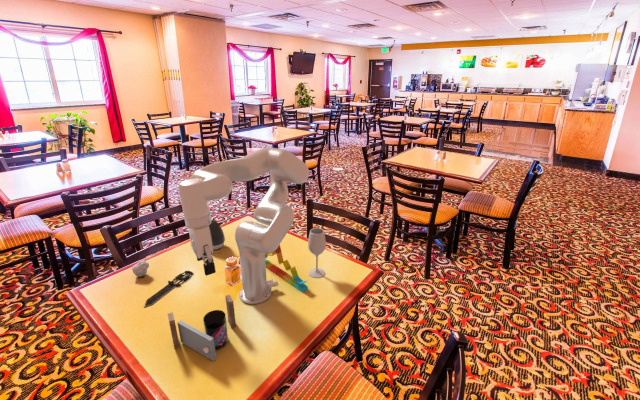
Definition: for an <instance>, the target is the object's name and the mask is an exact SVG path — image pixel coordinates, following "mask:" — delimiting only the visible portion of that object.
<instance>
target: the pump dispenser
mask: <svg viewBox="0 0 640 400" xmlns="http://www.w3.org/2000/svg"><path fill="white" fill-rule="evenodd" d="M223 224H224V222H223V221H221V222H218V220H215V219H211V224H210V225H209V229H210V234H211V239H212V245H213V251H215V250H219V249H220V248H222V247H223V246H224V244H225V241H226V238H225V237H226V236H225V234H224V230H223V228H222V225H223Z"/></svg>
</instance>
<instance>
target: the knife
mask: <svg viewBox="0 0 640 400" xmlns="http://www.w3.org/2000/svg"><path fill="white" fill-rule="evenodd" d="M185 274H187V275H185ZM193 275H194V272H193V271H190V270H185V271H184V272H182V273H179V274H178V275H176V276H175V277H174V278H173V279H172V280H168V281H167V282H168V283H167V284H166V285H165V286H163V288H161V289H160V290H158V291H157V292H156V293H154V294H153V295H152V296H150V297H148V299H147V298H146V301H145V303H144V306H143V308H147V307H150V306H153V305H154V304H155V303H157V302H158V301H160V300H161V299H162V298H164V297H165V296H166V295H167V294H169V293H170V292H171V291H172V290H174V289H176V288H177V287H181V286H182V285H181V283H182V282H186V281H187V280H189V279H190V277H191V276H193ZM177 279H178V280H179V281H178V282H177V283H175V281H176V280H177Z"/></svg>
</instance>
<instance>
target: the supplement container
mask: <svg viewBox="0 0 640 400" xmlns="http://www.w3.org/2000/svg"><path fill="white" fill-rule="evenodd" d="M202 320H203V326H204V333H205V334H207V335H209V336H210V337H212V338H214V345H215V350H220V349H222V348H224V347H225V346H226V345H227V343H228V341H229V334H228V327H227V318H226V313H225V311H223V310H220V309H214V310H210V311H209V312H207V313H206V314H205V315H204V316H203V319H202Z"/></svg>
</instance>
